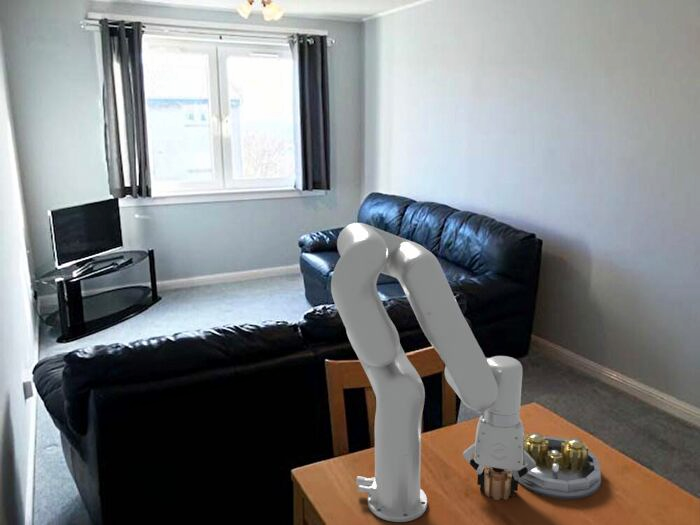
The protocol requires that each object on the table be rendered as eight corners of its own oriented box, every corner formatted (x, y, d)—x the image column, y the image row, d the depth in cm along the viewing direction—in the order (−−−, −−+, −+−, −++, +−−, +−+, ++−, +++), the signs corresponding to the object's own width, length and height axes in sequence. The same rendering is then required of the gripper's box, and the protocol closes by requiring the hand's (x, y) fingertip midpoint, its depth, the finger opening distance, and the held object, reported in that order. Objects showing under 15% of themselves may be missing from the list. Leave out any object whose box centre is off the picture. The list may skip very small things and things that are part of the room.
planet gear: (482, 497, 123) (483, 474, 122) (484, 481, 129) (485, 459, 127) (510, 502, 121) (511, 479, 120) (511, 485, 127) (512, 463, 126)
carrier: (506, 490, 125) (508, 461, 124) (510, 442, 144) (511, 416, 142) (605, 506, 120) (608, 476, 118) (596, 455, 138) (598, 428, 136)
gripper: (457, 417, 120) (455, 493, 124) (544, 429, 115) (538, 507, 119) (461, 401, 127) (459, 473, 131) (543, 411, 122) (538, 486, 126)
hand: (497, 489), depth 125 cm, fingers closed on planet gear, 5 cm apart
